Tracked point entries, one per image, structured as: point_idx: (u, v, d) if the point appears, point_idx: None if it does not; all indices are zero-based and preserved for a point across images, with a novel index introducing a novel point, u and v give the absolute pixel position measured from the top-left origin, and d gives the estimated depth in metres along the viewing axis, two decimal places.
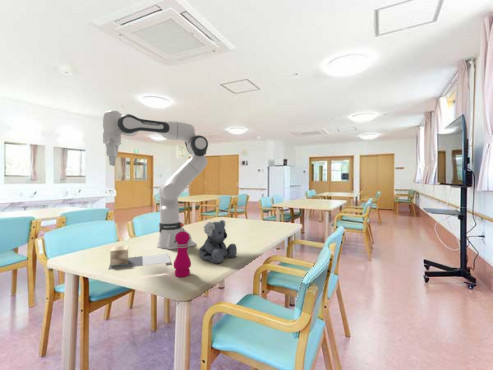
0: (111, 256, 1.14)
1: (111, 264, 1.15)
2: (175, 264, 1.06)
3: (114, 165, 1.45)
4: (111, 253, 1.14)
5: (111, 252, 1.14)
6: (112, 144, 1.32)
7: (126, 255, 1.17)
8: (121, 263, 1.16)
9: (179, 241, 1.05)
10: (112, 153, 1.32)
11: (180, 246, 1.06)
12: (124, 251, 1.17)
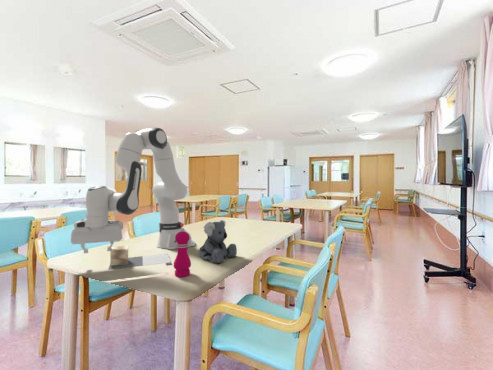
0: (111, 256, 1.14)
1: (111, 264, 1.15)
2: (175, 264, 1.06)
3: None
4: (111, 253, 1.14)
5: (111, 252, 1.14)
6: None
7: (126, 255, 1.17)
8: (121, 263, 1.16)
9: (179, 241, 1.05)
10: None
11: (180, 246, 1.06)
12: (124, 251, 1.17)
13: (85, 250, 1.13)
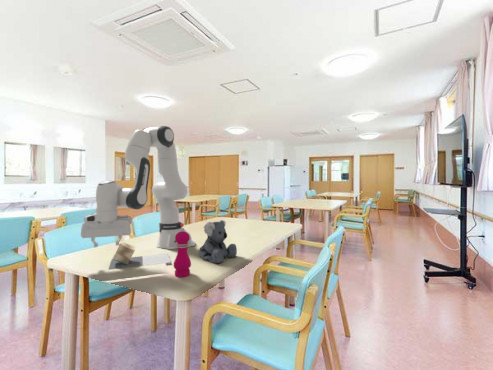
0: (117, 250, 1.15)
1: (114, 258, 1.15)
2: (175, 264, 1.06)
3: None
4: (119, 247, 1.16)
5: (120, 246, 1.16)
6: None
7: (131, 255, 1.18)
8: (123, 261, 1.16)
9: (179, 241, 1.05)
10: None
11: (180, 246, 1.06)
12: (131, 251, 1.18)
13: (95, 244, 1.14)
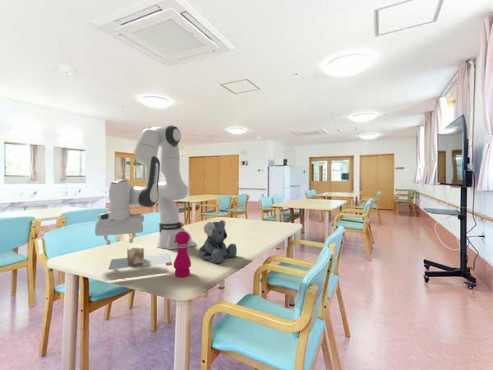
0: (137, 249, 1.19)
1: (129, 250, 1.17)
2: (175, 264, 1.06)
3: (109, 243, 1.18)
4: (141, 249, 1.19)
5: (142, 249, 1.19)
6: None
7: (137, 262, 1.19)
8: (129, 259, 1.17)
9: (179, 241, 1.05)
10: None
11: (180, 246, 1.06)
12: (141, 260, 1.20)
13: (108, 242, 1.16)
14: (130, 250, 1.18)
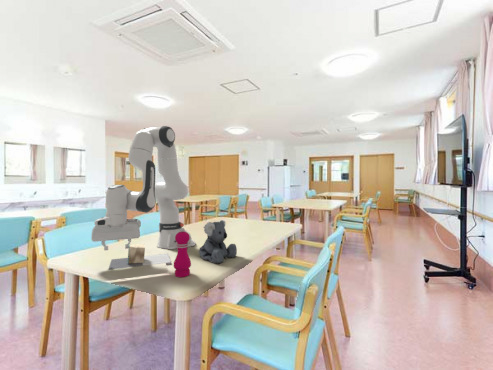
0: (138, 248, 1.19)
1: (130, 249, 1.18)
2: (175, 264, 1.06)
3: None
4: (142, 249, 1.19)
5: (143, 248, 1.20)
6: None
7: (137, 262, 1.19)
8: (129, 258, 1.18)
9: (179, 241, 1.05)
10: None
11: (180, 246, 1.06)
12: (142, 260, 1.20)
13: (105, 247, 1.16)
14: (131, 249, 1.18)
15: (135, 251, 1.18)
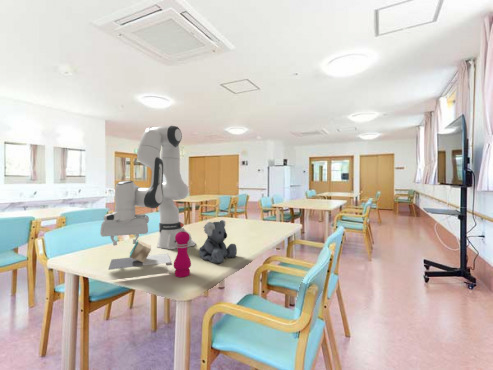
0: (145, 247, 1.20)
1: (138, 244, 1.19)
2: (175, 264, 1.06)
3: None
4: (148, 249, 1.21)
5: (149, 249, 1.21)
6: None
7: (138, 259, 1.19)
8: (134, 252, 1.18)
9: (179, 241, 1.05)
10: None
11: (180, 246, 1.06)
12: (143, 259, 1.20)
13: (114, 242, 1.17)
14: (139, 245, 1.19)
15: (141, 248, 1.19)
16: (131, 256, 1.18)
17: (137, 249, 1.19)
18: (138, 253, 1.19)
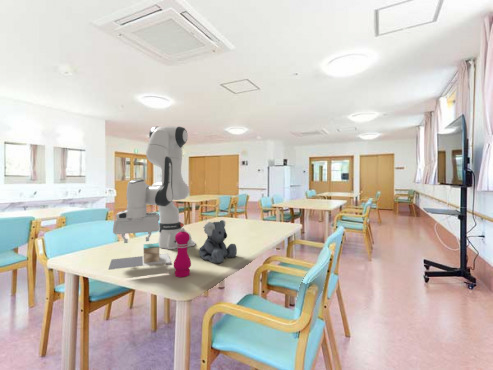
0: (158, 255, 1.22)
1: (158, 248, 1.22)
2: (175, 264, 1.06)
3: None
4: (158, 258, 1.22)
5: (158, 259, 1.22)
6: None
7: (144, 256, 1.20)
8: (149, 249, 1.21)
9: (179, 241, 1.05)
10: None
11: (180, 246, 1.06)
12: (146, 260, 1.20)
13: (125, 240, 1.19)
14: (158, 249, 1.22)
15: (156, 253, 1.22)
16: (145, 249, 1.20)
17: (153, 250, 1.22)
18: (150, 253, 1.21)
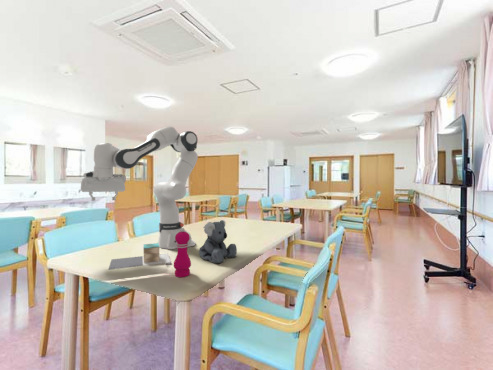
0: (158, 255, 1.22)
1: (158, 248, 1.22)
2: (175, 264, 1.06)
3: (94, 200, 1.32)
4: (158, 258, 1.22)
5: (158, 259, 1.22)
6: None
7: (144, 256, 1.20)
8: (149, 249, 1.21)
9: (179, 241, 1.05)
10: None
11: (180, 246, 1.06)
12: (146, 260, 1.20)
13: (93, 198, 1.30)
14: (158, 249, 1.22)
15: (156, 253, 1.22)
16: (145, 249, 1.20)
17: (153, 250, 1.22)
18: (150, 253, 1.21)
